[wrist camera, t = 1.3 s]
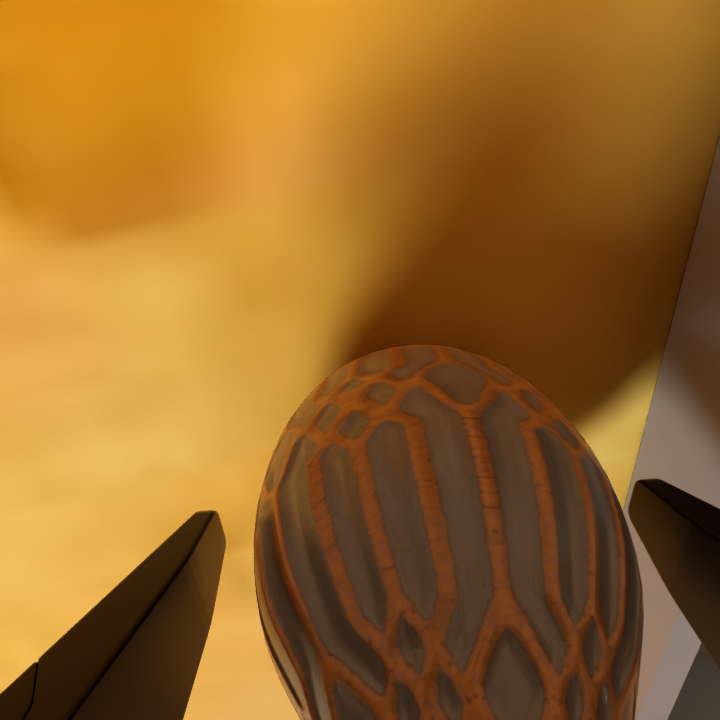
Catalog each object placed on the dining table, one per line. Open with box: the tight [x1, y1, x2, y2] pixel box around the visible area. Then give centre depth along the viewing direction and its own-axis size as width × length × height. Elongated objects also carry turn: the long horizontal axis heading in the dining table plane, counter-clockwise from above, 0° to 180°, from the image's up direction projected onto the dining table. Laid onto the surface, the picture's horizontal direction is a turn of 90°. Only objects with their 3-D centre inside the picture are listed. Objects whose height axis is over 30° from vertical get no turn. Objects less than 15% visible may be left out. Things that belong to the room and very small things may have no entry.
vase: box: [254, 344, 644, 720], centre depth 8 cm, size 7×7×9 cm
